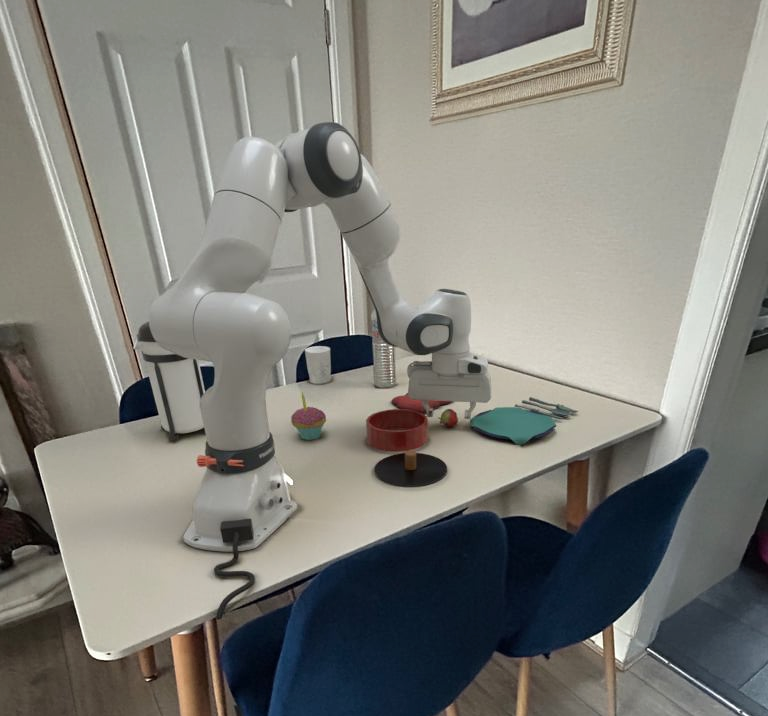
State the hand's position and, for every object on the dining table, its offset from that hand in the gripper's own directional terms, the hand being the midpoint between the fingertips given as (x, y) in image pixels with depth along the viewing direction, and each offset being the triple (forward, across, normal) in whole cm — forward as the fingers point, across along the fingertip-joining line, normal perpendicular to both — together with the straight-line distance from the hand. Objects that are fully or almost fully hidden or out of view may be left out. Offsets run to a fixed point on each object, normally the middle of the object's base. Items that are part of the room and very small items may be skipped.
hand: (448, 417), depth 135 cm
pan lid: (+2, -5, -27) cm, 27 cm away
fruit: (+3, 0, 0) cm, 3 cm away
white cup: (+3, -45, +33) cm, 55 cm away
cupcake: (+3, -33, -11) cm, 35 cm away
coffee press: (+3, -65, -11) cm, 66 cm away
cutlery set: (+3, +19, +4) cm, 19 cm away
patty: (+3, -9, +17) cm, 19 cm away
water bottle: (+3, -23, +31) cm, 39 cm away
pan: (+2, -11, -11) cm, 16 cm away
